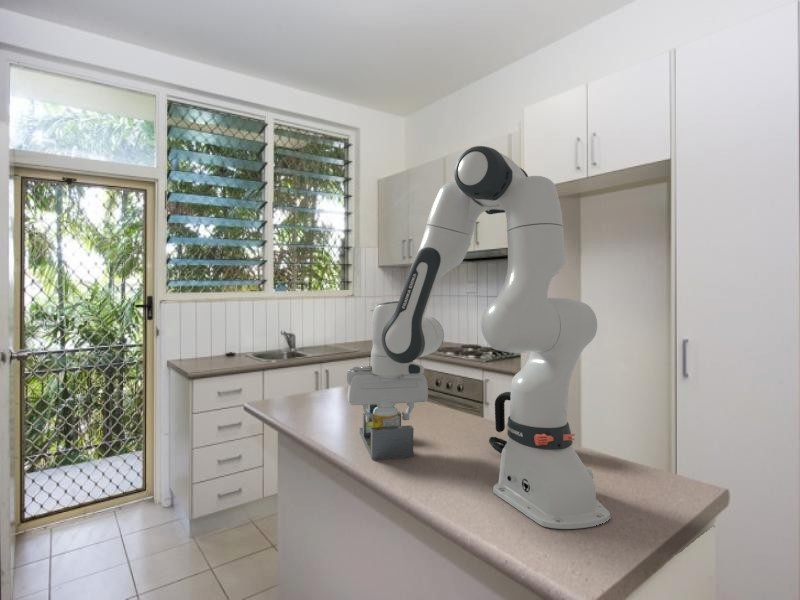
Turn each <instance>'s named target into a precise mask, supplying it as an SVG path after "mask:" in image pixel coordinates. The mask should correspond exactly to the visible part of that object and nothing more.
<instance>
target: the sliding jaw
mask: <svg viewBox="0 0 800 600" xmlns="http://www.w3.org/2000/svg"><path fill="white" fill-rule="evenodd" d="M376 407H378V406H377V404H372V405H368V409H367V412H368V414H372V415H373V411H374V409H375V408H376ZM372 420H373V418H372ZM398 426H402V413H401V412H400V411H398ZM362 428H363V436H371V428H373V422H366V414H365V412H364V413H362Z"/></svg>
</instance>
